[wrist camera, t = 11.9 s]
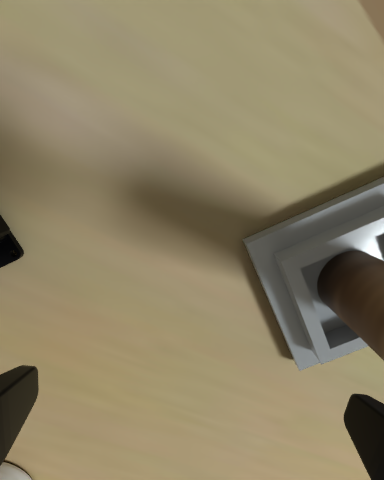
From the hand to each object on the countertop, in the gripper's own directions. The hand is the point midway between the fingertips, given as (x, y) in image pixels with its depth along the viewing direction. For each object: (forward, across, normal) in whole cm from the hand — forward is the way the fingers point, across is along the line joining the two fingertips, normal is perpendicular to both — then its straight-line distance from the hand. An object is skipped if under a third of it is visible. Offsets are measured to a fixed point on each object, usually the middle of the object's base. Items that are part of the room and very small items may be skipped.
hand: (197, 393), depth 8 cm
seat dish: (+13, +12, -1) cm, 18 cm away
